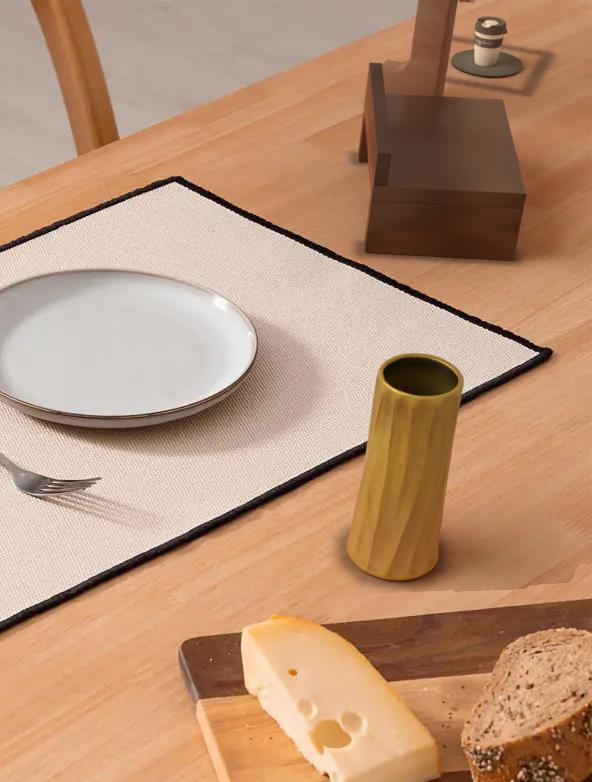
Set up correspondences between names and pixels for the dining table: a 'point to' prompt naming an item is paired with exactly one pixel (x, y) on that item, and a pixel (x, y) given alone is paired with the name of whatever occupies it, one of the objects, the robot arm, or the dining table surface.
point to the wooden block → (424, 52)
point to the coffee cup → (487, 51)
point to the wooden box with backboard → (439, 175)
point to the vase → (406, 467)
